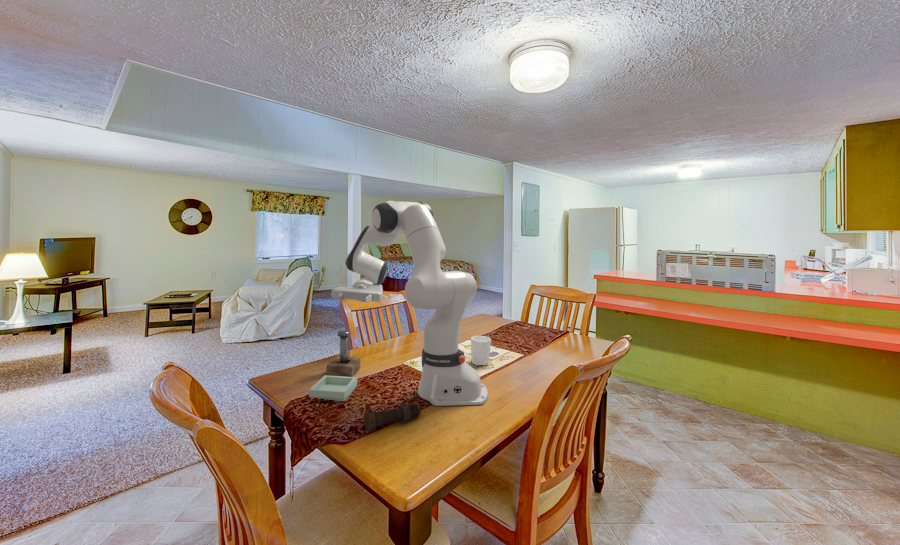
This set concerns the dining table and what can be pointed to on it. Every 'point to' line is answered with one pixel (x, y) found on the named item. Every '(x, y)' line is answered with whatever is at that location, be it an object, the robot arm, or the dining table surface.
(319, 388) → the tray
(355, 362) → the socket block
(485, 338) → the white cup
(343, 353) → the pin
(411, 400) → the dining table surface
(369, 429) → the bolt
